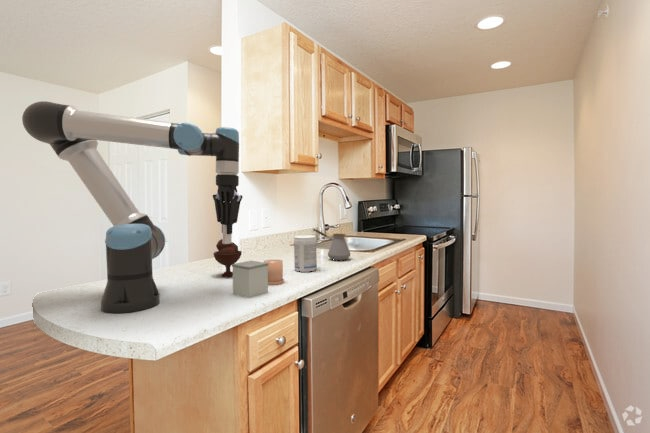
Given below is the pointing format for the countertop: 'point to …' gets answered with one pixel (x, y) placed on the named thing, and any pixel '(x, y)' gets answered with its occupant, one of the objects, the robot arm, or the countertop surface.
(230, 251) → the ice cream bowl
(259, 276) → the grey tub
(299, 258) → the supplement tub
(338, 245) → the coffee pot
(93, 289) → the countertop surface
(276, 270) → the terracotta pot
